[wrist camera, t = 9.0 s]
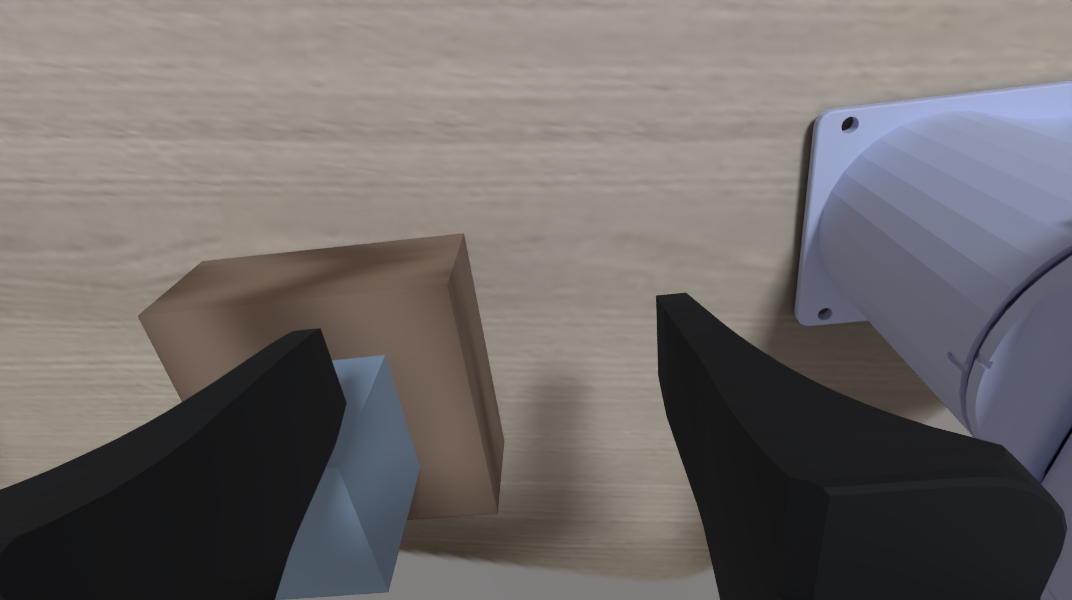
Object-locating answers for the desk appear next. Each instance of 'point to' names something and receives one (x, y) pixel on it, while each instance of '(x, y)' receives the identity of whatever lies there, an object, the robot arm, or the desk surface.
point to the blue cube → (357, 493)
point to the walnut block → (358, 344)
